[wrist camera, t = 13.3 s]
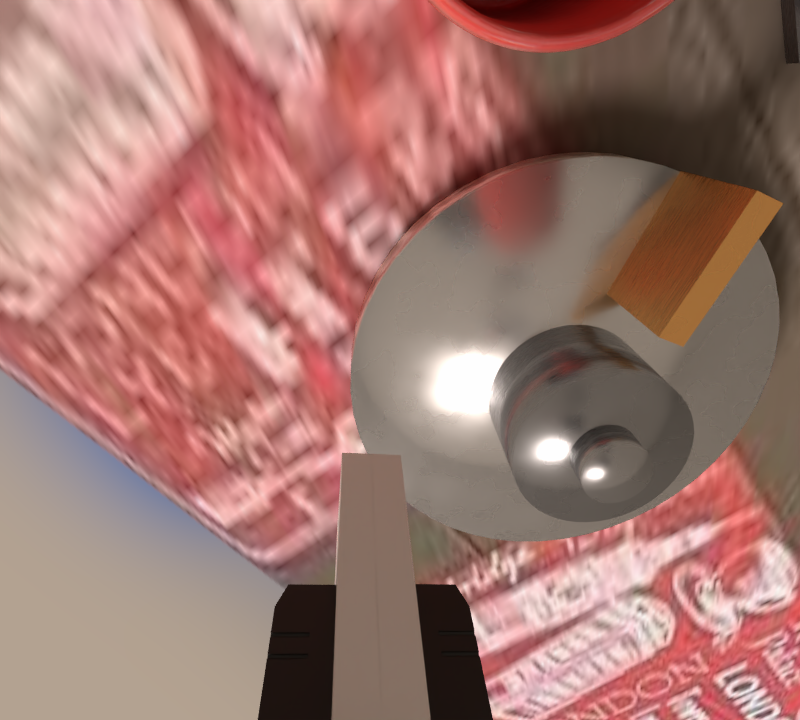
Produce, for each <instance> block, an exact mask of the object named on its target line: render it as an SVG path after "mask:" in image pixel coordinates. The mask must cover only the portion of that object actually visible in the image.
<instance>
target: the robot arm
mask: <svg viewBox="0 0 800 720" xmlns="http://www.w3.org/2000/svg"><path fill="white" fill-rule="evenodd" d="M478 652H479V651H478V646H477V641H476V636H475V635H474V627H473V622H472V617H471V612H470V608H469V605H468V603H467V602H466V600H465V599H464V597H463V596H462V594H461V593H460V591H459V590H458V588H457V587H456V585H435V584H415V577H414V568H413V559H412V550H411V541H410V533H409V524H408V515H407V506H406V497H405V488H404V479H403V471H402V462H401V455H386V454H358V453H342V464H341V479H340V495H339V511H338V526H337V548H336V572H335V585H288V586H287V588H286V589H285V591H284V593H283V594H282V596H281V598H280V599H279V601H278V602H277V604H276V606H275V609H274V616H273V623H272V630H271V637H270V643H269V650H268V658H267V663H266V669H265V677H264V682H263V690H262V696H261V702H260V709H259V716H258V720H493V718H492V713H491V708H490V704H489V699H488V694H487V689H486V684H485V680H484V675H483V670H482V665H481V660H480V657H479V654H478Z"/></svg>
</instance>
